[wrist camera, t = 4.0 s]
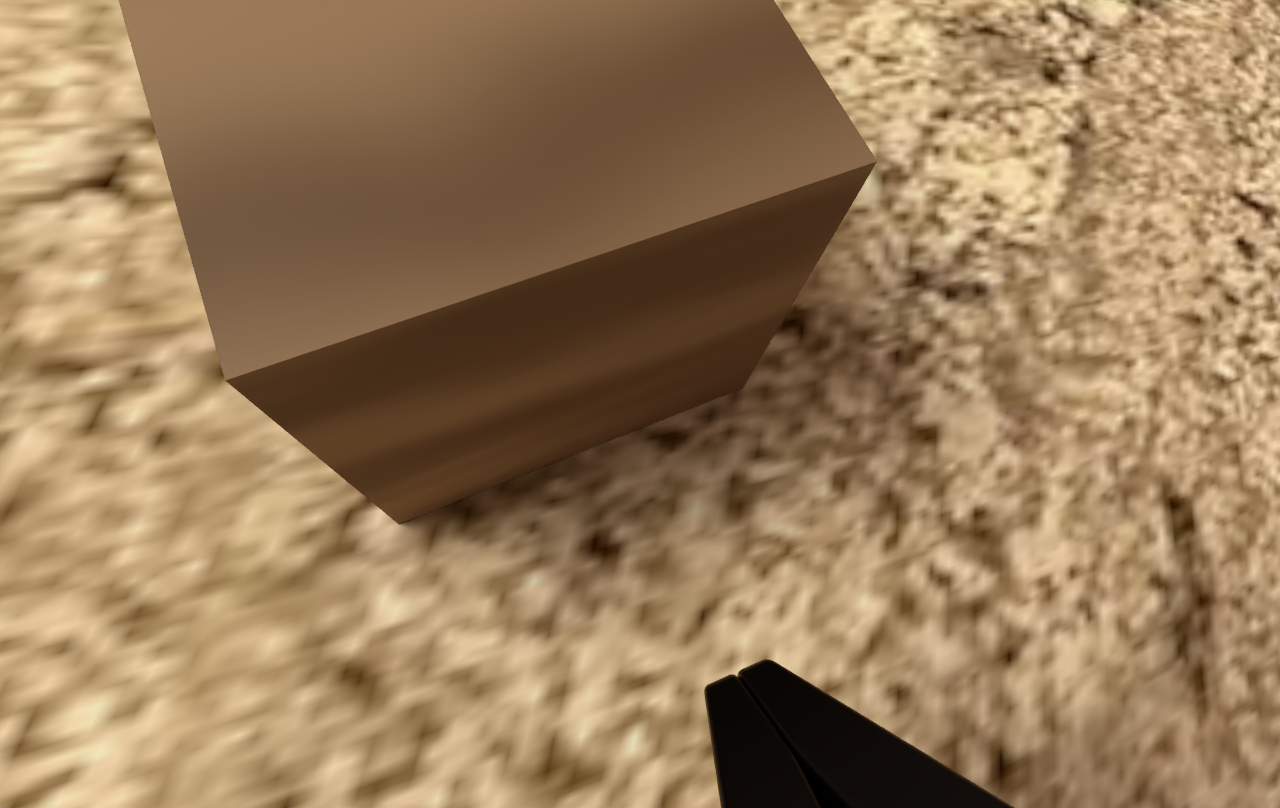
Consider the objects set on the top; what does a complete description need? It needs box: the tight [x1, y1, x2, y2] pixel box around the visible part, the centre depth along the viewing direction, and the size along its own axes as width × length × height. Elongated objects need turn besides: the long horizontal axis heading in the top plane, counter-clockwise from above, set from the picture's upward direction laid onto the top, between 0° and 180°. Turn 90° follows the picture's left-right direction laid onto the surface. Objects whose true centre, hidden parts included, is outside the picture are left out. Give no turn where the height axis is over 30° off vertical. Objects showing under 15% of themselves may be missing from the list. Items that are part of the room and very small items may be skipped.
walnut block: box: [119, 0, 877, 524], centre depth 16 cm, size 16×9×9 cm, turn 24°
